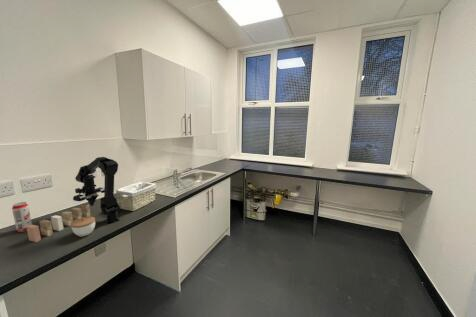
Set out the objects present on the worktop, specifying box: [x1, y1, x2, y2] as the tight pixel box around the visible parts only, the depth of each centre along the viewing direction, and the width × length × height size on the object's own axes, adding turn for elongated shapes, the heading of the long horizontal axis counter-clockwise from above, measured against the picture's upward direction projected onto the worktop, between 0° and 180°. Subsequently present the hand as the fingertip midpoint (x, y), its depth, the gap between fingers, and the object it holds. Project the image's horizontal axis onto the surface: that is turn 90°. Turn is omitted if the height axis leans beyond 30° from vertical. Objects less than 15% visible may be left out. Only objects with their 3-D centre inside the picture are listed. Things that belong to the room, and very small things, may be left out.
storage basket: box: [115, 181, 157, 212], centre depth 149 cm, size 24×16×15 cm
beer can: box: [11, 201, 33, 233], centre depth 112 cm, size 6×6×16 cm
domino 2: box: [50, 214, 64, 232], centre depth 114 cm, size 2×5×8 cm, turn 76°
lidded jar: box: [70, 216, 96, 237], centre depth 110 cm, size 11×11×9 cm
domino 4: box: [70, 207, 83, 221], centre depth 124 cm, size 2×5×8 cm, turn 76°
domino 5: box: [79, 203, 92, 218], centre depth 129 cm, size 2×5×8 cm, turn 76°
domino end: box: [26, 224, 42, 243], centre depth 103 cm, size 2×5×8 cm, turn 76°
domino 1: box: [39, 219, 54, 237], centre depth 108 cm, size 2×5×8 cm, turn 76°
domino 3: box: [61, 210, 73, 227], centre depth 119 cm, size 2×5×8 cm, turn 76°
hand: (92, 205), depth 133 cm, fingers closed
